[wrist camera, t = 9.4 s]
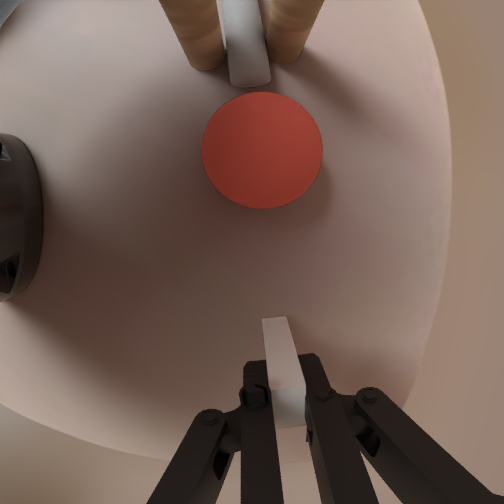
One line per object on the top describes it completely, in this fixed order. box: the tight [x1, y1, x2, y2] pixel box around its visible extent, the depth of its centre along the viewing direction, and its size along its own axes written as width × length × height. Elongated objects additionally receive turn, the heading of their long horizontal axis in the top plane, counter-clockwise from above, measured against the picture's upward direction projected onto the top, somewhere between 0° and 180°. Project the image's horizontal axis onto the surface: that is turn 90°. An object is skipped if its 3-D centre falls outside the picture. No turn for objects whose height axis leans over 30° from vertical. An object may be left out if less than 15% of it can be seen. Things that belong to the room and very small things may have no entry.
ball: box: [201, 92, 323, 209], centre depth 13 cm, size 6×6×6 cm
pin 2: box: [265, 0, 324, 64], centre depth 10 cm, size 2×2×8 cm
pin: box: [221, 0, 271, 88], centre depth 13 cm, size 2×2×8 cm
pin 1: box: [159, 0, 225, 70], centre depth 10 cm, size 2×2×8 cm
